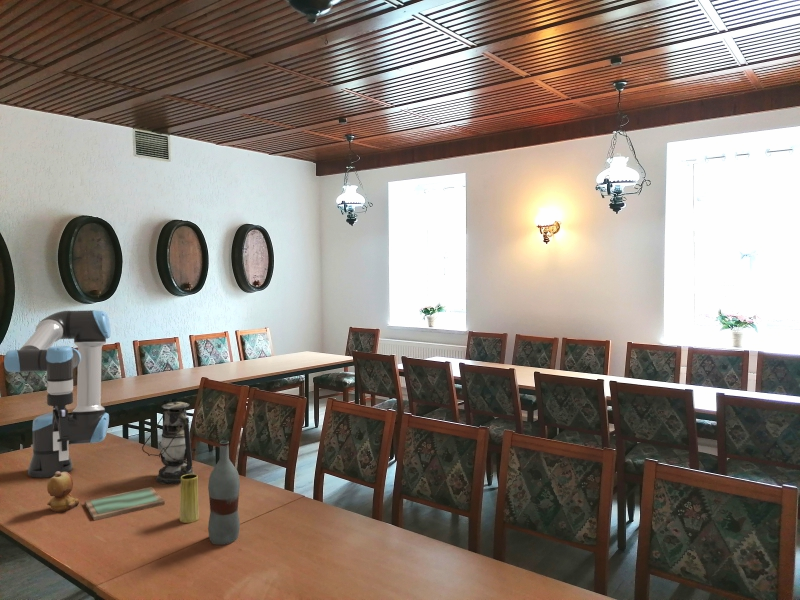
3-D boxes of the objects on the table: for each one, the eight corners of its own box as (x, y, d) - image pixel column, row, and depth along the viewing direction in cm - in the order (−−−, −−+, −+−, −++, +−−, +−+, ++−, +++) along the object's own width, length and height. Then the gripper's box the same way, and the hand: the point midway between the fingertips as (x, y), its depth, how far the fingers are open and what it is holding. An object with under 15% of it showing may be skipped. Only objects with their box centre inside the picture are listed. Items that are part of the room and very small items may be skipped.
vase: (203, 517, 189) (203, 475, 188) (189, 524, 184) (189, 481, 183) (189, 513, 192) (189, 472, 191) (175, 520, 186) (175, 477, 185)
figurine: (85, 503, 198) (77, 466, 194) (71, 517, 191) (63, 479, 187) (58, 502, 199) (50, 465, 195) (43, 516, 192) (35, 477, 188)
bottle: (210, 548, 168) (210, 448, 167) (205, 535, 176) (205, 439, 175) (242, 541, 173) (243, 444, 171) (236, 529, 181) (236, 436, 179)
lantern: (207, 477, 226) (206, 402, 224) (164, 492, 210) (164, 411, 208) (176, 467, 236) (176, 396, 234) (134, 481, 220) (133, 404, 218)
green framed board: (84, 504, 198) (84, 500, 198) (151, 490, 212) (151, 486, 212) (94, 520, 185) (94, 516, 185) (164, 504, 199) (164, 500, 199)
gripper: (42, 387, 199) (42, 447, 200) (52, 400, 180) (53, 467, 180) (66, 385, 204) (67, 444, 205) (79, 397, 184) (80, 462, 185)
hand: (60, 455), depth 193 cm, fingers open, 13 cm apart
